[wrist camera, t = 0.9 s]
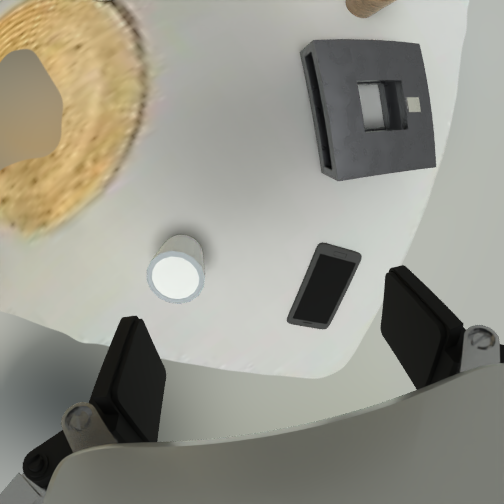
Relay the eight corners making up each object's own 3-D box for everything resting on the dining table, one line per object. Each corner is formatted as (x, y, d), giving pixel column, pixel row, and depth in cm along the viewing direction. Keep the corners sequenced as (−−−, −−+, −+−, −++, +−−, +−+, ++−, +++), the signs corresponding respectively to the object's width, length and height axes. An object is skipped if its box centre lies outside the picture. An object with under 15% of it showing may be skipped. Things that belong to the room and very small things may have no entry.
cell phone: (361, 252, 43) (363, 254, 42) (325, 327, 48) (326, 330, 47) (318, 240, 42) (319, 242, 41) (284, 320, 47) (285, 323, 46)
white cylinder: (192, 221, 39) (186, 241, 32) (216, 264, 41) (215, 291, 35) (148, 243, 39) (134, 266, 33) (173, 284, 42) (165, 312, 36)
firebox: (299, 52, 31) (313, 39, 25) (395, 51, 31) (420, 43, 25) (321, 172, 37) (338, 181, 32) (411, 159, 37) (436, 167, 32)
